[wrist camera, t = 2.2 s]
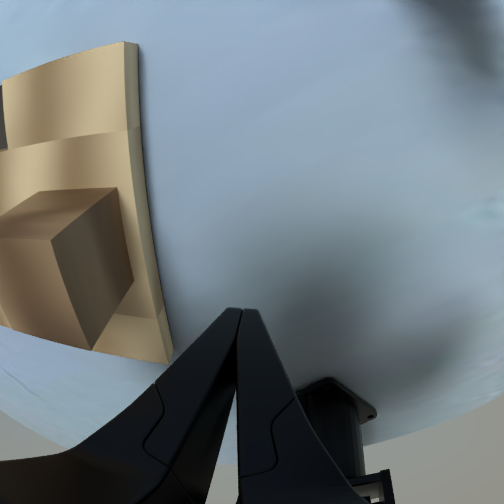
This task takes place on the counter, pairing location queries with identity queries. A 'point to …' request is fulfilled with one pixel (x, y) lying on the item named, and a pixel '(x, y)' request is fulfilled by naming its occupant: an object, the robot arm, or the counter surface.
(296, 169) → the counter surface
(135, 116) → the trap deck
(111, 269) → the walnut block
